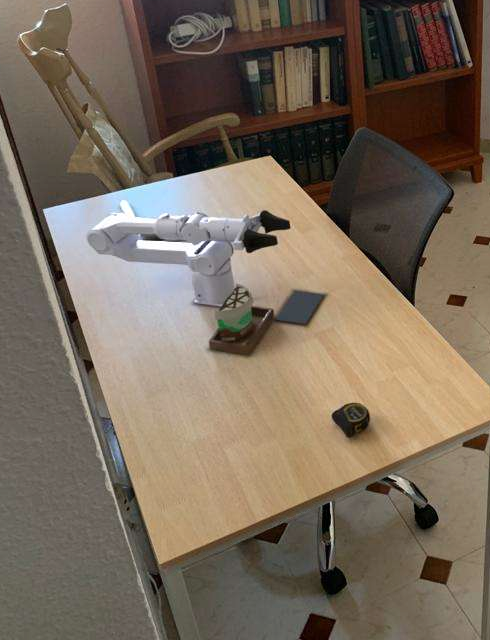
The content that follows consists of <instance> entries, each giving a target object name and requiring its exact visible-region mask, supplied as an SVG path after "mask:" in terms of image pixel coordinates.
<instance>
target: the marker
mask: <svg viewBox="0 0 490 640" xmlns="http://www.w3.org/2000/svg"><path fill="white" fill-rule="evenodd" d="M119 206H120V208H121V210H122V213H124V214H125V215H126V216H128V217H136V215H135V213H134V211H133V209H132V208H131V205H130V204H129V202H128V201H127V200H122V201H121V202H120V203H119Z"/></svg>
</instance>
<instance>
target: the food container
mask: <svg viewBox="0 0 490 640" xmlns="http://www.w3.org/2000/svg"><path fill="white" fill-rule="evenodd" d="M252 306H254V297H253V294H252V292H251V291H250V290H249V288H247V286H245V285H243V284H240V283H235V290H234V291H233V292H232V294H231V295H230V296H228V297H227V299H226V300H225V302H224V303H223V305H222V307H220V308H219V309H218V310H214V320H216V322H217V325H218V328H219V330H220V334H221V338H222V339H221V341H224V342H230V343H238V342H241V341H243V340H246V339H247V338H249V336H251V335H252V332H253V317H252V316H253V315H252V314H251V307H252Z"/></svg>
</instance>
